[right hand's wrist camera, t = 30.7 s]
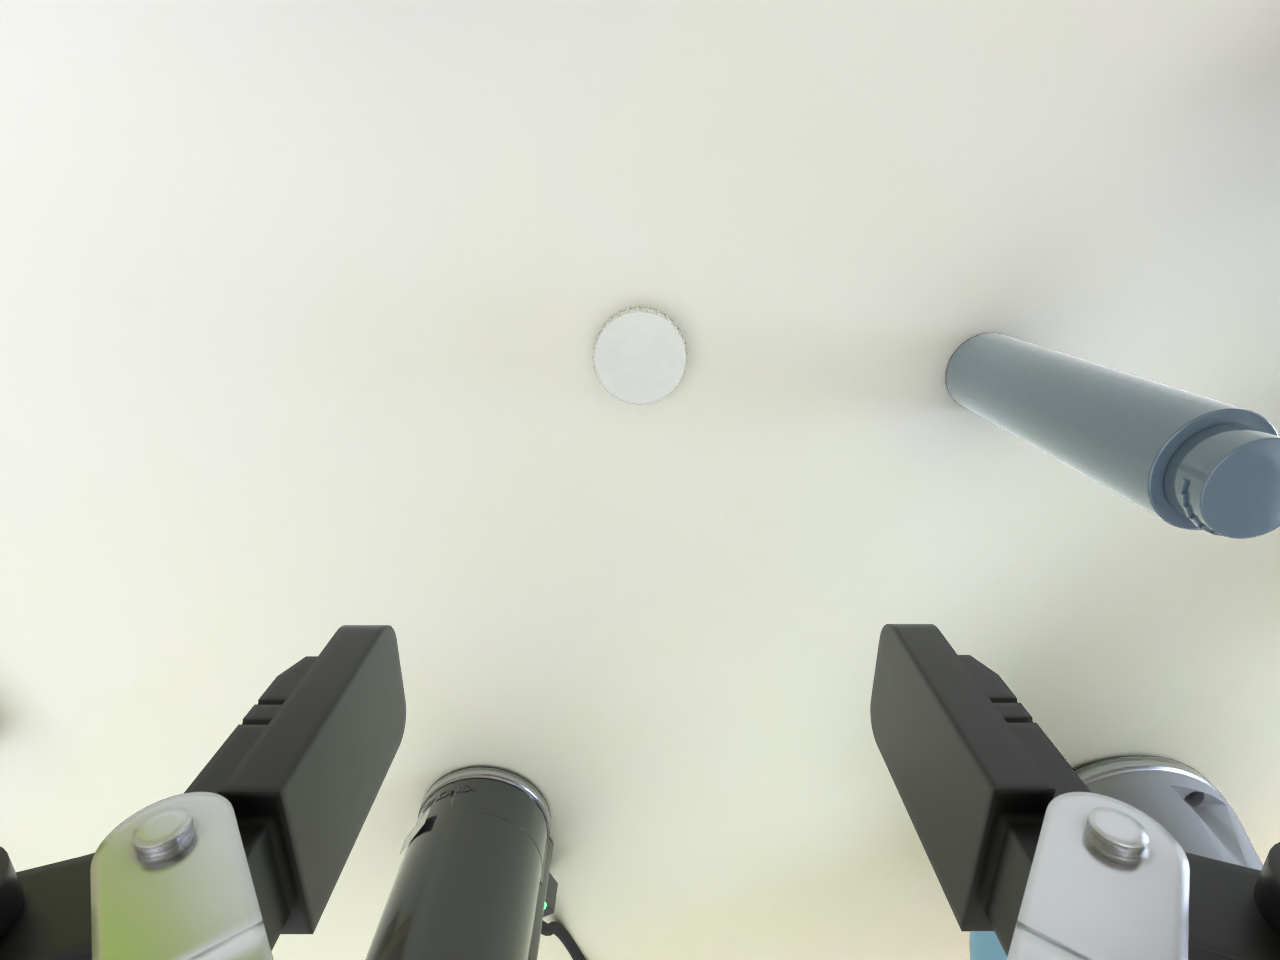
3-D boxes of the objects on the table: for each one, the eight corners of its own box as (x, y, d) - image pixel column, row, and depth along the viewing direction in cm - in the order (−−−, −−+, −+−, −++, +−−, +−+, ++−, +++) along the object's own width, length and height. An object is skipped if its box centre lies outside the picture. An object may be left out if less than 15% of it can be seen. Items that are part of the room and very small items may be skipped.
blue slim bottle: (942, 412, 40) (1174, 557, 23) (947, 336, 39) (1199, 429, 21) (1019, 406, 40) (1311, 546, 23) (1027, 329, 38) (1347, 416, 21)
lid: (703, 337, 39) (706, 343, 37) (654, 413, 40) (655, 422, 38) (624, 288, 38) (623, 291, 36) (578, 367, 39) (574, 374, 37)
